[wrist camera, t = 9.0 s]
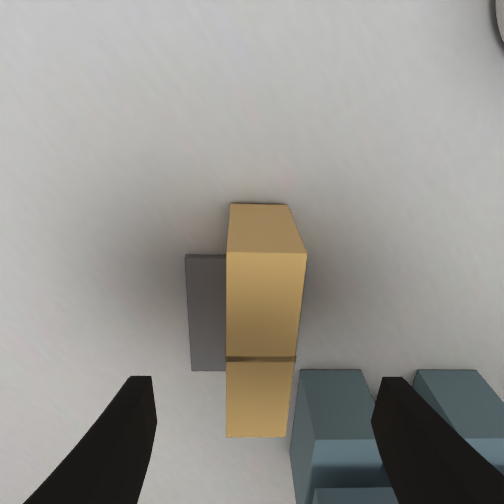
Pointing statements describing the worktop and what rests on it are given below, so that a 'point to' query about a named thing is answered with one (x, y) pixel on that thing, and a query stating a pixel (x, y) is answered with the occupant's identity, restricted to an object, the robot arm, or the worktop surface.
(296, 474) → the teal block stack
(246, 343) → the tan grooved block
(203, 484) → the worktop surface
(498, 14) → the bath foam
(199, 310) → the pad
